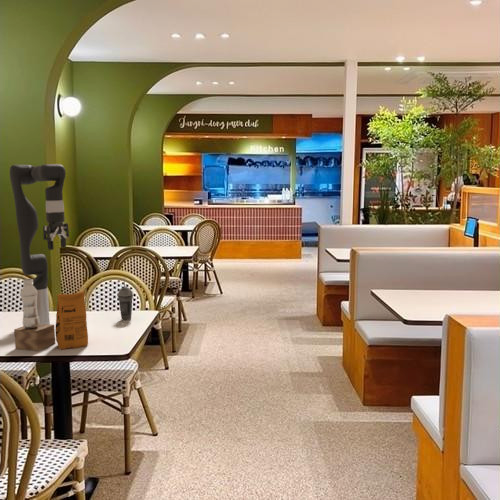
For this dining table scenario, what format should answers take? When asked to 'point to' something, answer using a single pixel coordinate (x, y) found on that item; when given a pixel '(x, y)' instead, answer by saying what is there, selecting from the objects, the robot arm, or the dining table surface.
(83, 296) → the coffee package
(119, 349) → the dining table surface
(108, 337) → the dining table surface
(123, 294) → the beverage cup
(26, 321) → the plastic bottle
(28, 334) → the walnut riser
